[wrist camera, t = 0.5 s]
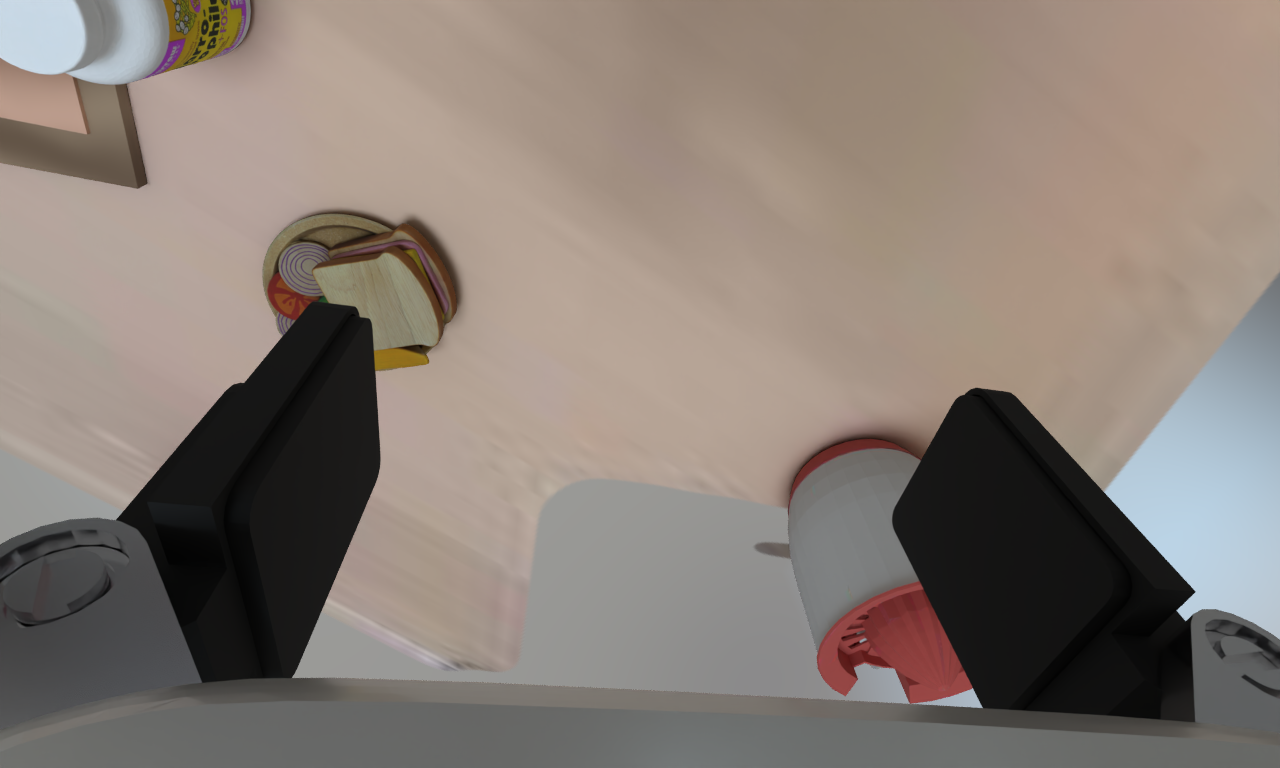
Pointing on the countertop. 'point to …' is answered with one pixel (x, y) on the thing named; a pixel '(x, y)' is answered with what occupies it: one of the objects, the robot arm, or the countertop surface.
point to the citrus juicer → (865, 573)
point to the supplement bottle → (118, 35)
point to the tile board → (68, 127)
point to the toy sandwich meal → (363, 282)
